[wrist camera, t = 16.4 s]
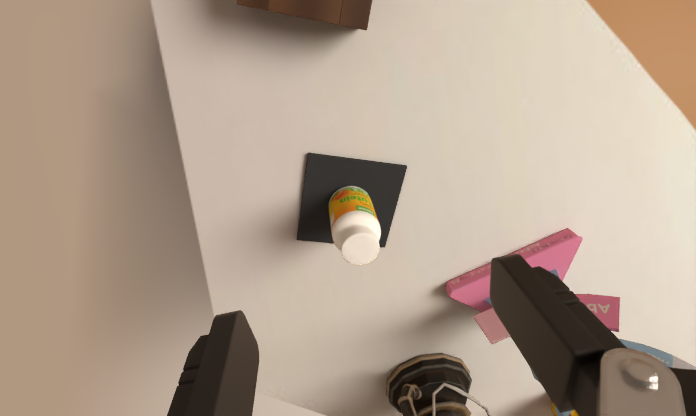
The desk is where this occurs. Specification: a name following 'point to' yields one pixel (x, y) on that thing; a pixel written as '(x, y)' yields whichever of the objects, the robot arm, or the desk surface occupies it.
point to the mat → (341, 172)
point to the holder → (319, 10)
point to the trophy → (557, 259)
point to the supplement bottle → (354, 225)
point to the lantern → (431, 387)
